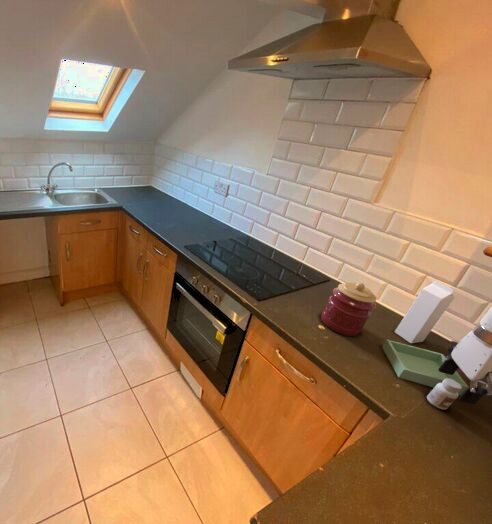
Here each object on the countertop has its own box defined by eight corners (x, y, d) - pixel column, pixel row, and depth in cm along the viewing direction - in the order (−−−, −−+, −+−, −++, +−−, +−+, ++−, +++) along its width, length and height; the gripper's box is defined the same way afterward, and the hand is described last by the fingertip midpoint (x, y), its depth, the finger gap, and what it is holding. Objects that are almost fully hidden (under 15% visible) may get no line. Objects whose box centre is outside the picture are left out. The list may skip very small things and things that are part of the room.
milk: (410, 343, 103) (448, 290, 92) (393, 331, 108) (427, 280, 97) (423, 341, 104) (461, 289, 94) (405, 330, 109) (440, 279, 99)
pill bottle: (441, 412, 79) (459, 392, 75) (422, 398, 82) (439, 378, 78) (450, 407, 80) (468, 387, 77) (431, 393, 84) (447, 374, 80)
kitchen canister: (345, 340, 101) (369, 297, 92) (312, 316, 111) (331, 276, 103) (368, 332, 106) (393, 291, 98) (335, 310, 116) (355, 271, 108)
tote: (436, 361, 96) (442, 354, 94) (461, 395, 84) (469, 387, 83) (381, 346, 100) (386, 339, 98) (398, 377, 88) (404, 369, 87)
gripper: (547, 368, 62) (495, 420, 70) (491, 319, 77) (453, 366, 85) (502, 357, 64) (456, 409, 72) (456, 311, 79) (422, 359, 87)
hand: (454, 386), depth 78 cm, fingers open, 9 cm apart
